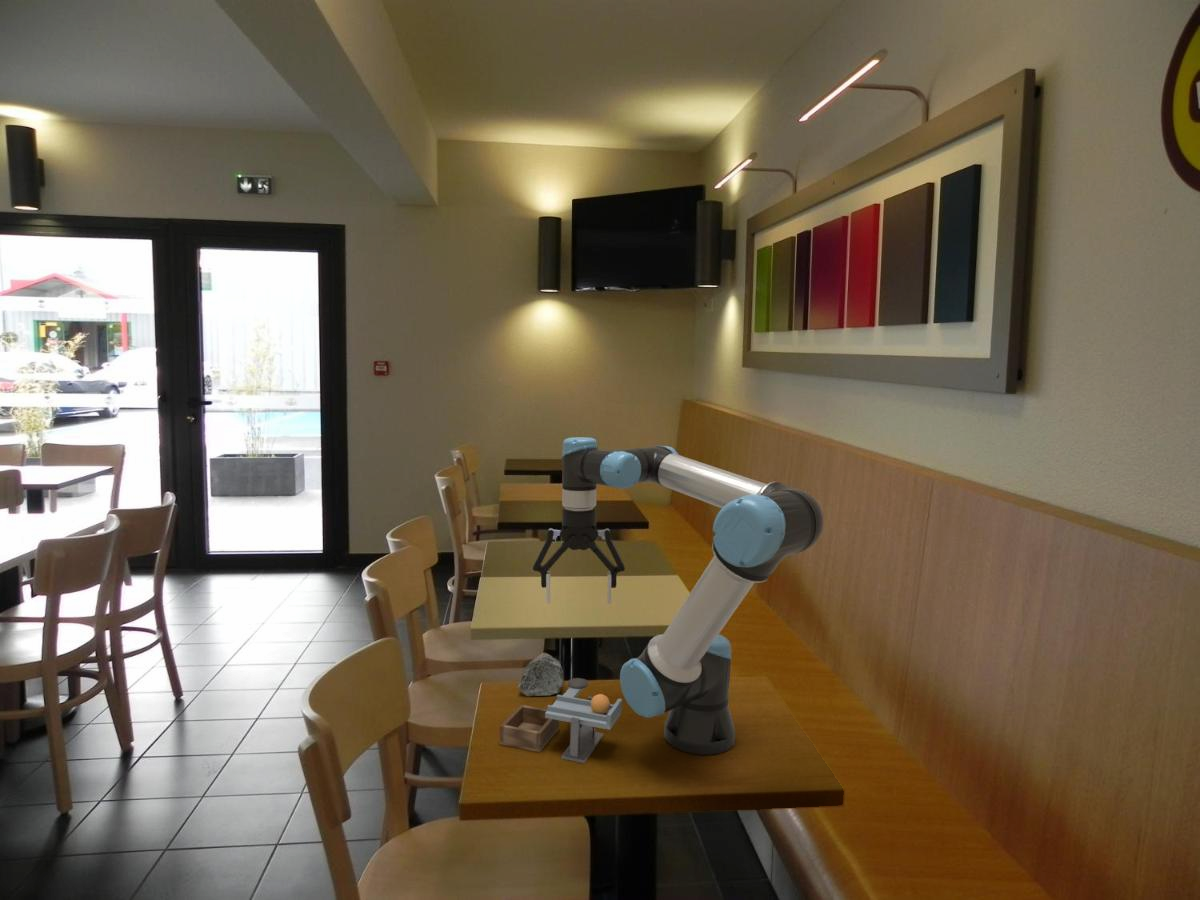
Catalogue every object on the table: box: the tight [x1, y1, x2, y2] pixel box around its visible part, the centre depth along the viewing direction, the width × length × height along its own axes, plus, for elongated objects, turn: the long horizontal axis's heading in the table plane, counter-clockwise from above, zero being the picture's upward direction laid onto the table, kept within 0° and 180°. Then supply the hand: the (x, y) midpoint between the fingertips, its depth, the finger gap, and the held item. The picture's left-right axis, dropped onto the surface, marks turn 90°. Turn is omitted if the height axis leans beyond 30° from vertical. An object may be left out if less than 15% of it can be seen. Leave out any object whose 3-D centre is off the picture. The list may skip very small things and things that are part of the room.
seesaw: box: [545, 677, 623, 731], centre depth 167 cm, size 15×18×3 cm
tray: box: [499, 704, 560, 753], centre depth 167 cm, size 9×11×4 cm
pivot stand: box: [560, 695, 604, 764], centre depth 163 cm, size 5×12×9 cm, turn 162°
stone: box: [517, 652, 565, 697], centre depth 189 cm, size 10×10×10 cm
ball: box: [591, 693, 611, 714], centre depth 161 cm, size 4×4×4 cm
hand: (578, 601), depth 175 cm, fingers open, 13 cm apart
